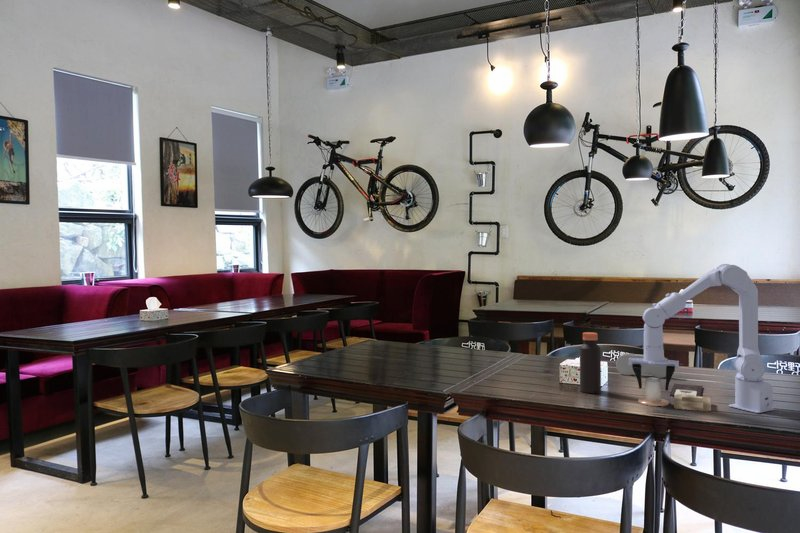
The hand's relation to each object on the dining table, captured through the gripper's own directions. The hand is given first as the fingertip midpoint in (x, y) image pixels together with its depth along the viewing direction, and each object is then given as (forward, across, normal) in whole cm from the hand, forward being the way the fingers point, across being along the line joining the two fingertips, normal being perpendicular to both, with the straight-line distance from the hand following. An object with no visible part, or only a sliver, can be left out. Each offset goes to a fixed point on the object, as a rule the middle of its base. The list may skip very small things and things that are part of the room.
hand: (653, 388), depth 195 cm
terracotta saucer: (+4, 0, 0) cm, 4 cm away
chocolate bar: (+5, +10, +20) cm, 22 cm away
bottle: (+5, -20, +9) cm, 23 cm away
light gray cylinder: (+4, 0, 0) cm, 4 cm away
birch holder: (+4, +11, 0) cm, 12 cm away
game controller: (+5, -5, +41) cm, 42 cm away
